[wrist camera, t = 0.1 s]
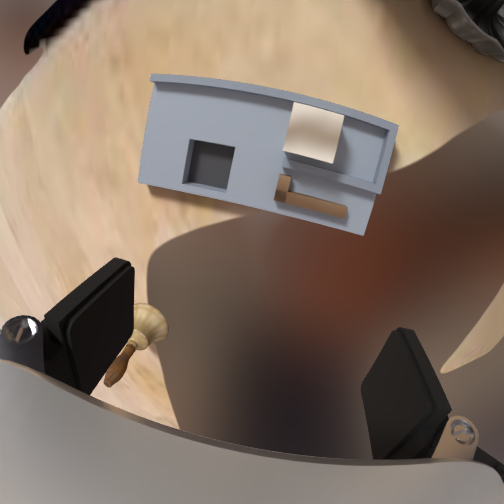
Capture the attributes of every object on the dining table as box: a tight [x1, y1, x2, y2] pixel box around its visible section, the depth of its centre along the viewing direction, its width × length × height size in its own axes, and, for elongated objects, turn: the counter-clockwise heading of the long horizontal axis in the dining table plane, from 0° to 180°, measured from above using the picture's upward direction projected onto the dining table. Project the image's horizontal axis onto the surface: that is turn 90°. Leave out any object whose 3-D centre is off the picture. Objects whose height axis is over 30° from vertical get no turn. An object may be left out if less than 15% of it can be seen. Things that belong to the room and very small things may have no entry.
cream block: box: [283, 102, 344, 164], centre depth 31 cm, size 6×6×4 cm
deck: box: [138, 74, 399, 236], centre depth 35 cm, size 15×31×4 cm, turn 78°
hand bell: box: [104, 303, 169, 387], centre depth 42 cm, size 8×8×16 cm
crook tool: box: [274, 173, 348, 219], centre depth 35 cm, size 3×9×1 cm, turn 78°
